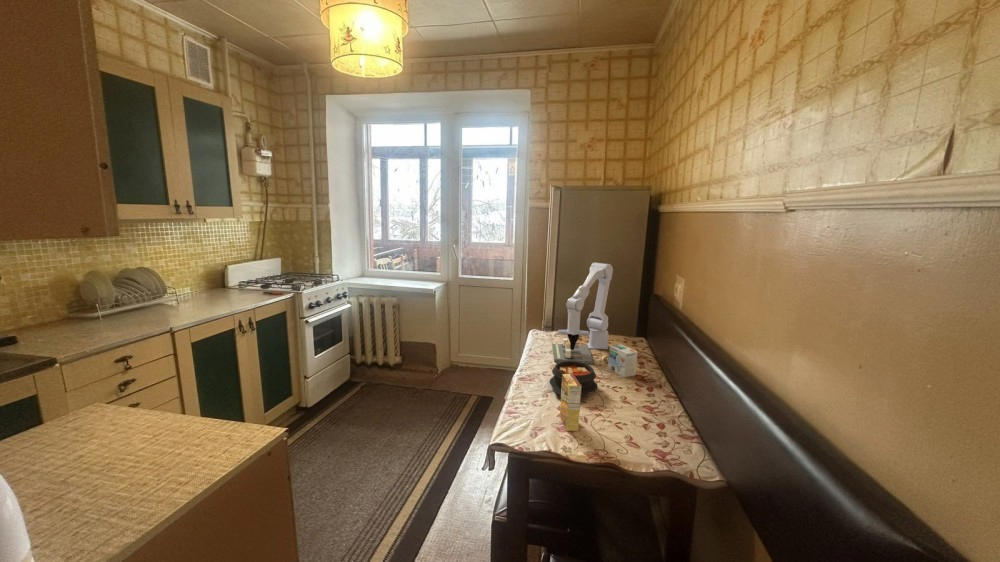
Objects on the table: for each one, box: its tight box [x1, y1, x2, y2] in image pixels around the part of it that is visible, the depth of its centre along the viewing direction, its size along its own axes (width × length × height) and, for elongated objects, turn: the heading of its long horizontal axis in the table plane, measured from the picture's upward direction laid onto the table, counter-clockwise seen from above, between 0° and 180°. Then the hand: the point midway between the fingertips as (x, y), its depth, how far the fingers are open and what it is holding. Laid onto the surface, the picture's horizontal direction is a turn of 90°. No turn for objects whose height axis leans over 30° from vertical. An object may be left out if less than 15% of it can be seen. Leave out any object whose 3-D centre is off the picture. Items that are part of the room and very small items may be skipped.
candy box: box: [559, 374, 582, 432], centre depth 120 cm, size 9×4×15 cm, turn 6°
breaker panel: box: [551, 337, 595, 365], centre depth 183 cm, size 18×22×5 cm
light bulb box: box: [607, 343, 638, 378], centre depth 163 cm, size 11×7×11 cm, turn 25°
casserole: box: [549, 361, 598, 399], centre depth 147 cm, size 25×19×8 cm
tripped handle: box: [565, 342, 570, 352], centre depth 183 cm, size 2×3×4 cm, turn 175°
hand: (572, 349), depth 183 cm, fingers closed
